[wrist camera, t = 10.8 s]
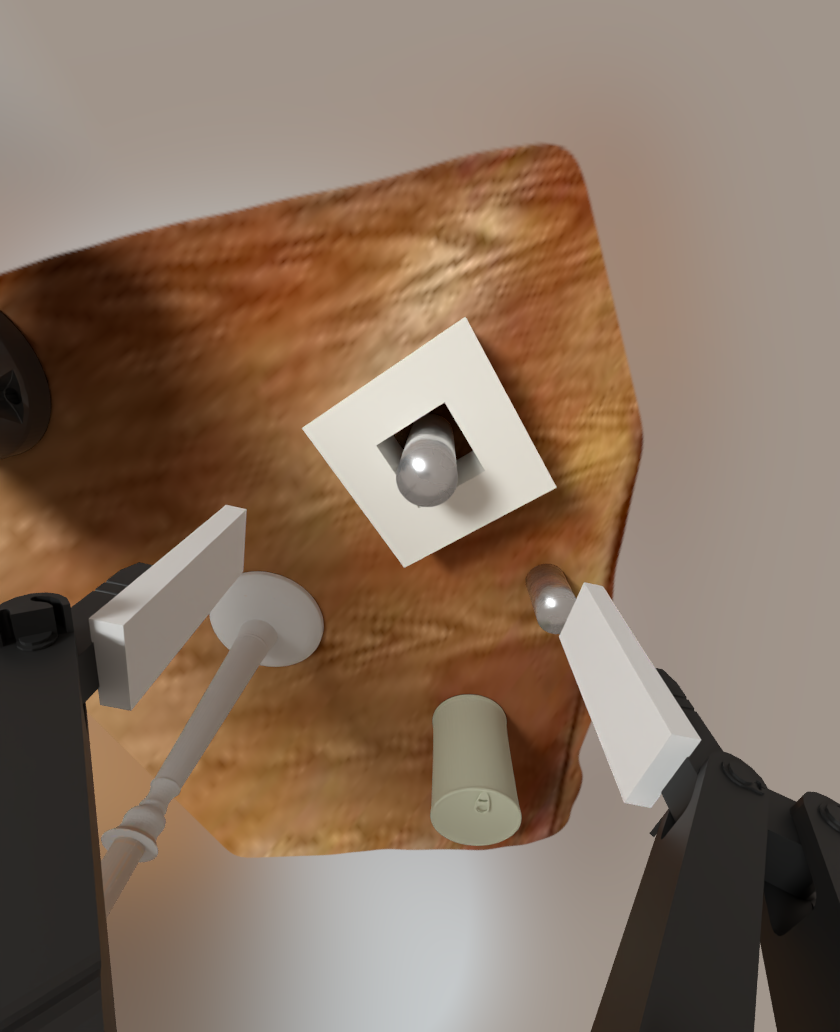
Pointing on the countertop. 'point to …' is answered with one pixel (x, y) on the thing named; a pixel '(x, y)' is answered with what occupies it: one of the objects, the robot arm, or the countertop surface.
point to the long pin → (428, 463)
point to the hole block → (481, 473)
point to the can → (473, 772)
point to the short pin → (550, 596)
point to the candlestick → (217, 703)
